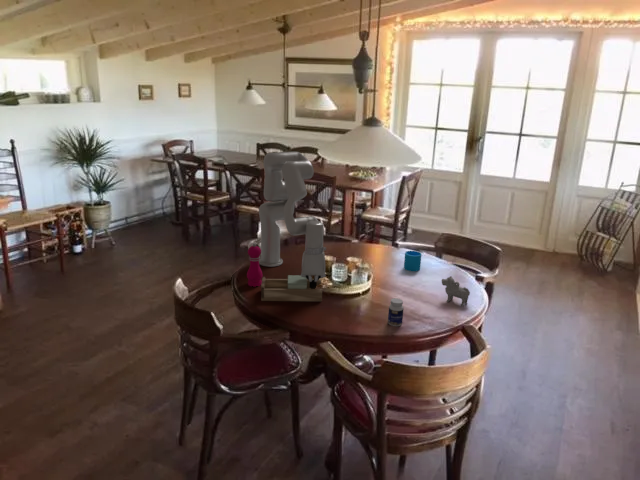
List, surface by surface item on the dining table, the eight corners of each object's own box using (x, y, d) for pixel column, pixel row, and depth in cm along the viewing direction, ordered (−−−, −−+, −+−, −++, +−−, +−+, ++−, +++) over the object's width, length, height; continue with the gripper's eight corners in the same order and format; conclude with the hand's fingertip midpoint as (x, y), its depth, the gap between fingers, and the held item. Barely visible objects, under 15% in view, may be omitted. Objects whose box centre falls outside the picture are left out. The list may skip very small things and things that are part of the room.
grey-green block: (287, 288, 235) (288, 275, 233) (306, 288, 236) (306, 275, 234) (287, 296, 226) (287, 283, 224) (306, 296, 227) (307, 283, 225)
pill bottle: (390, 327, 206) (392, 304, 203) (385, 320, 211) (387, 297, 208) (404, 326, 207) (406, 303, 204) (399, 319, 212) (401, 297, 209)
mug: (420, 272, 263) (422, 256, 260) (404, 271, 263) (405, 255, 261) (418, 263, 274) (420, 248, 272) (402, 262, 275) (404, 247, 272)
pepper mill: (259, 288, 238) (259, 246, 231) (244, 286, 239) (244, 244, 233) (264, 282, 244) (264, 241, 238) (249, 280, 246) (249, 239, 240)
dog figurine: (442, 295, 236) (444, 273, 233) (470, 303, 229) (472, 280, 226) (437, 299, 232) (439, 276, 229) (465, 307, 225) (468, 284, 222)
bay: (262, 289, 236) (262, 276, 234) (320, 290, 238) (321, 277, 236) (261, 300, 225) (261, 287, 223) (321, 301, 226) (322, 288, 224)
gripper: (330, 247, 229) (329, 285, 235) (296, 246, 228) (295, 285, 234) (332, 252, 222) (330, 292, 228) (296, 252, 221) (295, 292, 227)
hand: (312, 289), depth 231 cm, fingers closed
